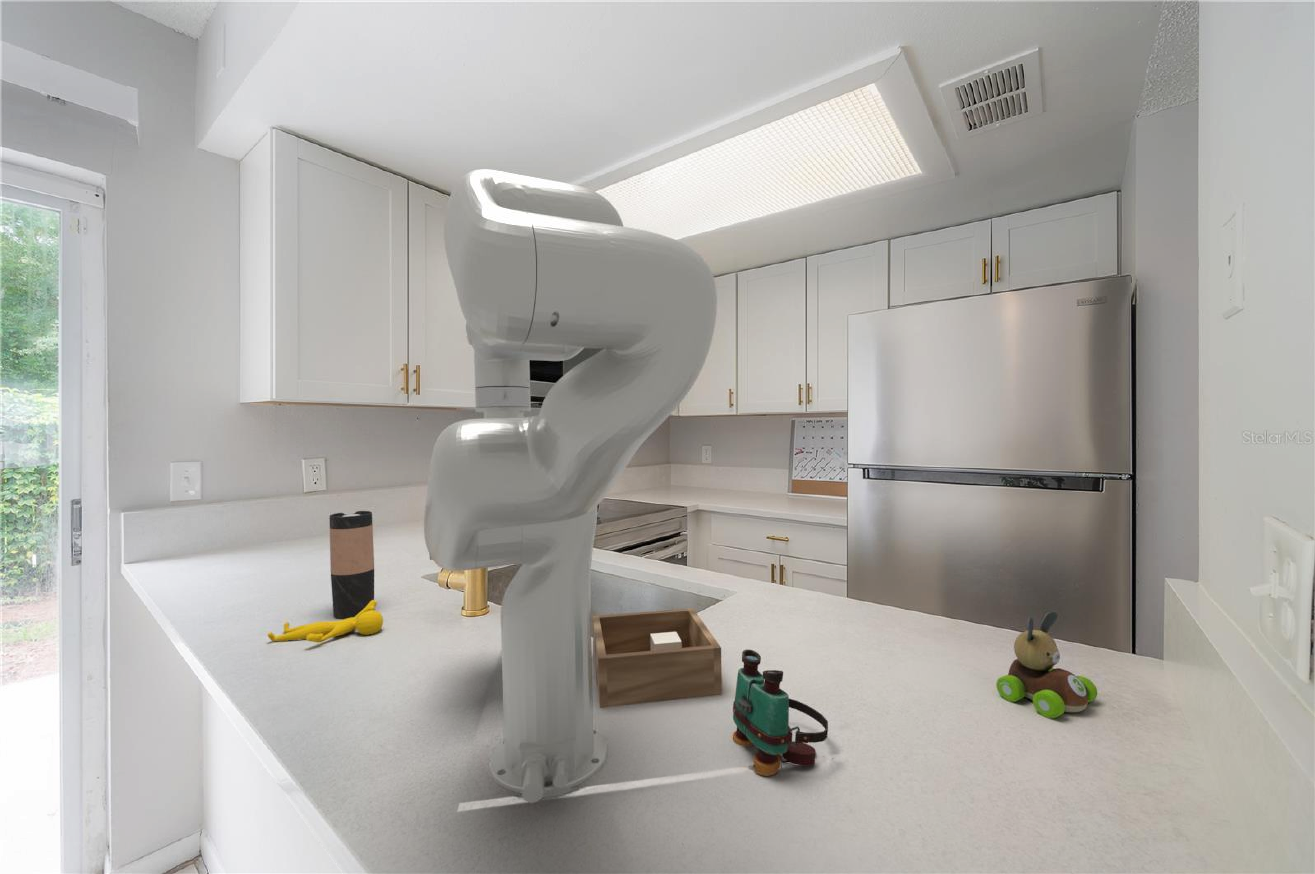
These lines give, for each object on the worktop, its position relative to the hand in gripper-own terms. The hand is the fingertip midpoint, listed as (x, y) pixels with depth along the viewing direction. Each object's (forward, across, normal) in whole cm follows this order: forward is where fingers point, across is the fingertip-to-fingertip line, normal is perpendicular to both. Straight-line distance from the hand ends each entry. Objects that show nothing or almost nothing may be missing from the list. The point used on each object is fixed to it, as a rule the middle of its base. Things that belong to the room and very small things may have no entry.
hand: (506, 529), depth 78 cm
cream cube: (+21, 0, -22) cm, 31 cm away
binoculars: (+22, -23, -31) cm, 45 cm away
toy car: (+22, -19, -69) cm, 75 cm away
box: (+22, -3, -20) cm, 30 cm away
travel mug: (+22, +38, +34) cm, 56 cm away
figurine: (+22, +26, +34) cm, 48 cm away
